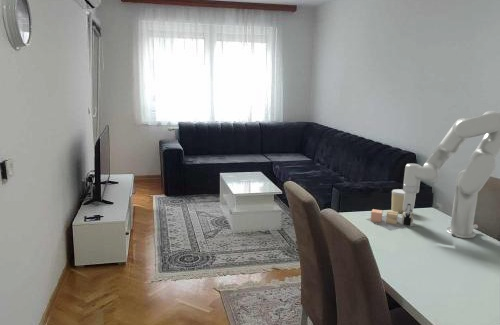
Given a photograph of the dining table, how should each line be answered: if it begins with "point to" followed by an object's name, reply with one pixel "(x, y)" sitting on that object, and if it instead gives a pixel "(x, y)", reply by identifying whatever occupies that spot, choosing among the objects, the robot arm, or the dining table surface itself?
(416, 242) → the dining table surface
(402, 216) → the birch block
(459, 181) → the robot arm
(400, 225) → the baseplate
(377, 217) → the terracotta block
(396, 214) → the oak base brick
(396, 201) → the coffee cup
